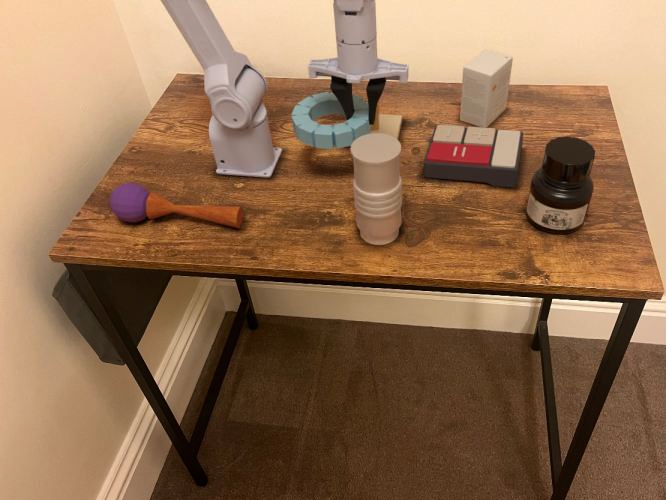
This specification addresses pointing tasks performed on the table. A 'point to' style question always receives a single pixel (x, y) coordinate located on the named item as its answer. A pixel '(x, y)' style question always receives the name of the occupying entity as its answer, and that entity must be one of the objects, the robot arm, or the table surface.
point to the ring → (329, 134)
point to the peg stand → (386, 124)
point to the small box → (485, 88)
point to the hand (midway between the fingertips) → (361, 120)
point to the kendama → (166, 207)
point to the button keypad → (474, 155)
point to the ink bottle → (562, 186)
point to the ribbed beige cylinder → (377, 187)
